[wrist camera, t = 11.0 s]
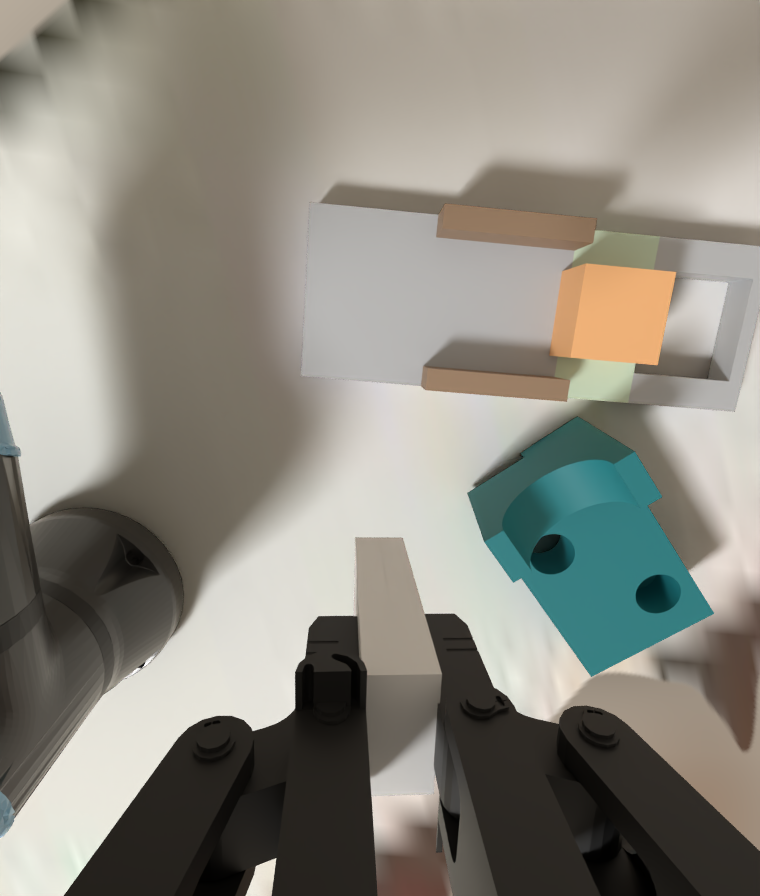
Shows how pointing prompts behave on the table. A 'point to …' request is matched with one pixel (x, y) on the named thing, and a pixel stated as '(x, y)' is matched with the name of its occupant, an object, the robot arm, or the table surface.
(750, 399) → the table surface
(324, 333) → the deck
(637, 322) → the block
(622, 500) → the teal l-shaped bracket
